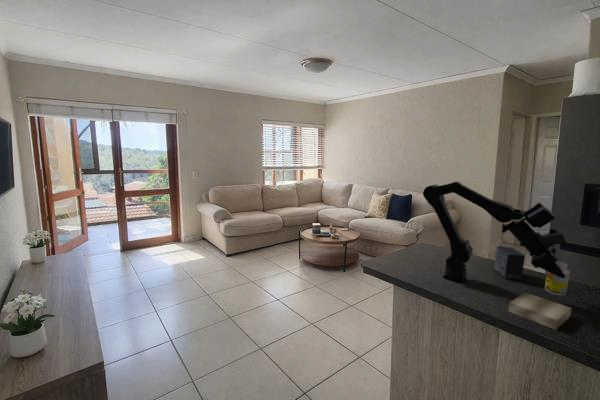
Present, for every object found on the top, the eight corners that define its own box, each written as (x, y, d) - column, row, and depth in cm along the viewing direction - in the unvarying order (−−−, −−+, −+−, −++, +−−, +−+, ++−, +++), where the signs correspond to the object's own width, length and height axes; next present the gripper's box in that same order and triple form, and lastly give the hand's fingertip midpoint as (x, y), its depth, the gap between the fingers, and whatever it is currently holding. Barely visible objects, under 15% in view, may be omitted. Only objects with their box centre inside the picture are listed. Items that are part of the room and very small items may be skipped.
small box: (523, 280, 117) (526, 255, 115) (504, 279, 118) (507, 254, 117) (510, 270, 127) (513, 246, 126) (493, 269, 129) (495, 245, 127)
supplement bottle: (544, 286, 103) (548, 258, 102) (565, 291, 100) (570, 262, 98) (543, 292, 99) (548, 263, 98) (566, 297, 96) (571, 267, 94)
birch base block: (508, 311, 95) (509, 302, 94) (524, 300, 101) (525, 292, 101) (555, 329, 85) (557, 320, 84) (570, 317, 91) (571, 307, 91)
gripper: (550, 227, 91) (594, 271, 86) (549, 217, 105) (587, 254, 100) (515, 246, 97) (554, 288, 92) (519, 234, 111) (553, 270, 106)
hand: (563, 274), depth 98 cm, fingers closed on supplement bottle, 6 cm apart
